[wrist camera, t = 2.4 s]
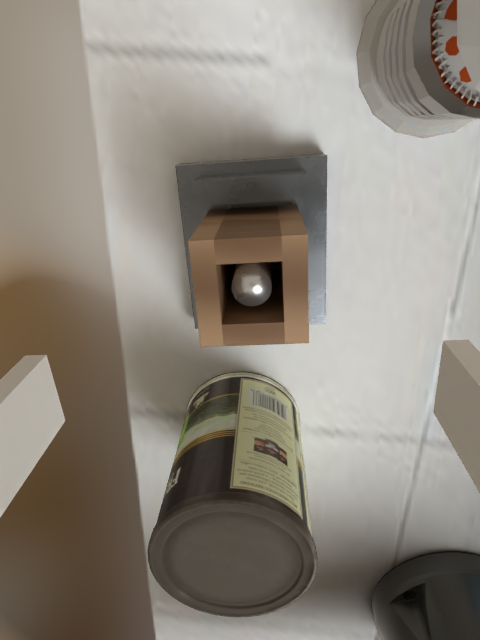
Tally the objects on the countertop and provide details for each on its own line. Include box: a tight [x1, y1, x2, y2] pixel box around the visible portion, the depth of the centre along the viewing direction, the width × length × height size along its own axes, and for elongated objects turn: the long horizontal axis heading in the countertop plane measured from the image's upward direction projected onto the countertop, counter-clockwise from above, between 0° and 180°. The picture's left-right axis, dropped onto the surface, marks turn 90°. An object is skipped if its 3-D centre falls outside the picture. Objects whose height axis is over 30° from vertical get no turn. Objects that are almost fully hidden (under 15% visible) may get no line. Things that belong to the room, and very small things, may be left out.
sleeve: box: [188, 204, 309, 347], centre depth 27 cm, size 6×6×9 cm
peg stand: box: [176, 154, 327, 329], centre depth 28 cm, size 12×10×10 cm
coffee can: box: [148, 372, 318, 617], centre depth 33 cm, size 10×10×14 cm
